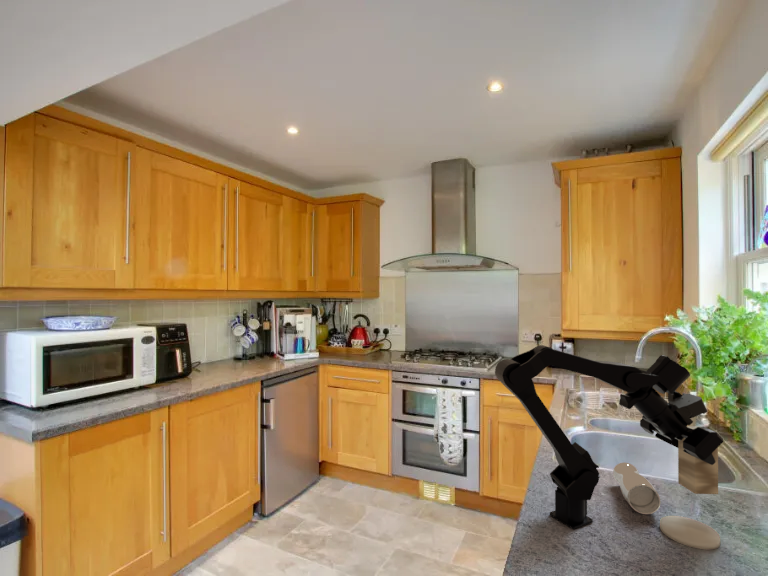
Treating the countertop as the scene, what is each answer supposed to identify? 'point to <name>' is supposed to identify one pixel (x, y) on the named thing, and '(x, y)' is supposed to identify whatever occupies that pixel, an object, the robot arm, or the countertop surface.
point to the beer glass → (636, 489)
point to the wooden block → (697, 471)
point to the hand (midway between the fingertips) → (703, 458)
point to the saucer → (690, 532)
